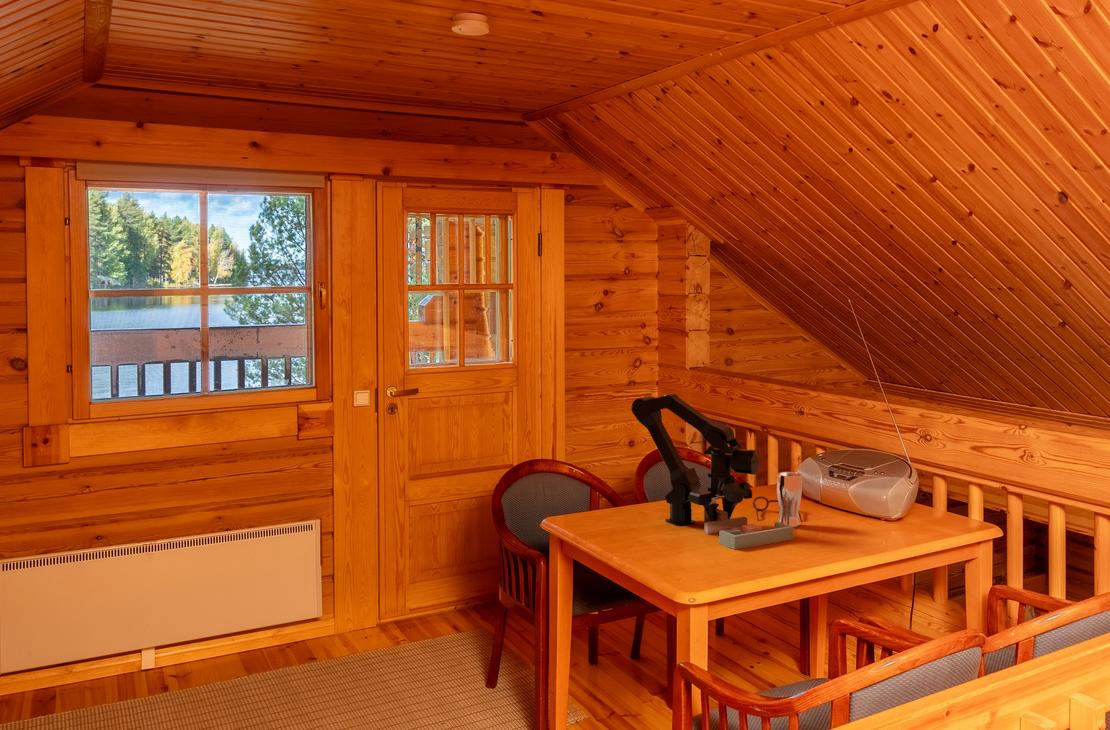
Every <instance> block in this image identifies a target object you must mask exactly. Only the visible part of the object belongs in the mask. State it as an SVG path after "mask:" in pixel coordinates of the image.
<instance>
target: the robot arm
mask: <svg viewBox="0 0 1110 730" xmlns="http://www.w3.org/2000/svg"><path fill="white" fill-rule="evenodd" d="M630 409H631V412H632V414H633V416H634V417H635V418H636V420H637V421H638V423H640V424H641V425H642V426H643V427H644V428H646V429H647V431H648V433H649V435H650V437H651V439H652V440H653V443H654V444H655V446H656V448H657V450H658V452H659V454H660V456H661V459H662V460H663V462H664V464H665V465H666V468H667V470H668V471H669V480H670V481H669V483H670V485H671V488H672V489H671V490H670V491H669V492H667V494H666V495H665V502H666V503H667V504H669V518H665V519H664V520H665V522H667V523H670V524H672V525H675V526H683V525H691V524H695V523H696V520H693V519H692V517H693V515H692V512H693V511H692V510H693V509H692V504H695V505H698V506H703V509H704V508H705V510H706V512H707V514H708V516H709V519H710V521H711V522H713V521H716V510H717V509H718V507H719V506H720V503H717V500H720V499H721V502H722V510H723V511H726V512H728V519H732V518H731V517H732V514H733V513H734V510H735V507H736V506H737V505H738V504H740V503H742V502H743V500H749V499H753V490H752V489H751V487H750V483H748V482H747V481H742V482H736V479H735V474H732V471H733V472H734V473H738V474H746V475H753V476H754V475H756V474H758V473H757V472H758V471H759V467H760V466H759V465H760V461H759V457H758V454H757V451H756V449H745V448H744V449H743V447H742V445H741V444H740V443H739V441H738V439H737V438H736V436H735V433H734V432H735V431H734V430H733V428H732V427H731V426H730V425H727V424H725V423H723V422H720V421H717V420H714V419H711V418H709V417H707V416H706V415H704V414H703V413H702V412H701V411H699V410H697V409H696V408H694V407H693V406H691V405H690V404H689V403H687V402H686V401H685V400H683V399H682V398H680V397H679V396H678V395H677V394H676V393H668V394H665V395H663V396H659V397H654V396H651V395H648V396H647V395H646V396H643V397H639V398H636V399H635V400H634V401H633V402H632V404H631V407H630ZM664 409H666V410H668V411H670V412H671V413H673V414H674V415H676V416H677V417H679V418H680V419H681V420H683V421H684V422H686V423H687V424H688V425H690V426H691V427H692V428H694V429H695V430H697V431H698V432H699V434H701V436H702V437H703V439H704V441H706V442H707V443H708V444H709V446H708V448H707V449H705V450H704V451H703V454H704V455H709V456H710V472H709V473H707V477H708V478H710V487H709V486H708V487H707V491H706V492H705V491H703V490H701V482H700V481H701V478H700V477H699V475H698V474H697V472H696V471H697V470H696V468H695V467H691V468H689V467H688V466H686V465H685V463H684V461H683V460H682V457H681V455H680V454H679V452H678V450H677V448H676V446H675V444H674V442H673V440H672V438H671V436H670V435H669V432H668V431H667V429H666V426H665V425H664V423H663V420H662V419H663V418H662V410H664Z"/></svg>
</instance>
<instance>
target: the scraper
mask: <svg viewBox="0 0 1110 730" xmlns="http://www.w3.org/2000/svg"><path fill="white" fill-rule="evenodd" d="M703 509H704V510H703V511H704V513H703V515H704V516H703V520H704V521H703V526H704V527H703V532H704V534H705V535H713V534H719V533H718V532H719V531H721V529H725V528H732V527H734V528H736V529H739V530H741V527H742V526H743V525H748V517H746V516H740V517H734V518H730V519H728V512H726V511H723V509H720V508H717V510H716V521H713V522H711V521H710V519H709V516H708V514H707V512H706V510H705V508H704V507H703ZM712 533H713V534H712Z"/></svg>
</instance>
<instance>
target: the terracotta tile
mask: <svg viewBox="0 0 1110 730" xmlns="http://www.w3.org/2000/svg"><path fill="white" fill-rule="evenodd" d="M740 530H741V531H742V534H746V533H752V532H758V531H763V527H761V526H759V525H758V524H754V523H752V524H747V525H743V526H742V527H741V529H740Z"/></svg>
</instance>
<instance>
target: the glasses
mask: <svg viewBox="0 0 1110 730" xmlns="http://www.w3.org/2000/svg"><path fill="white" fill-rule="evenodd" d="M759 499H762V500H765V501H766V504H765V507H763V508H758V507H757V504H756V501H757V500H759ZM769 503H778V499H768V498H767V497H765V496H761V495H760V496H757V497H755V498H753V500H752V507H753V509H754V510H755V512H756V518H757V519H756V520H757V522H759V521H760V520H759V513H758V512H759V511H760V512H762V511H766V510H767V509H768V508H769ZM798 518H799V522H800V523H803V520H802V515H801V512H800V510H799V511H798Z"/></svg>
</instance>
